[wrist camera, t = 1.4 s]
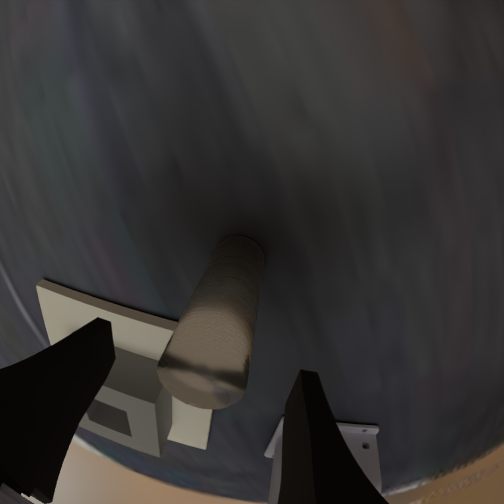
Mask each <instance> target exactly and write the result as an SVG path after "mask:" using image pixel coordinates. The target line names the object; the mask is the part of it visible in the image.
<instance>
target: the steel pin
mask: <svg viewBox="0 0 504 504" xmlns="http://www.w3.org/2000/svg"><path fill="white" fill-rule="evenodd" d="M264 262H265V259H264V254H263V251H262V249H261V248H260V246H259V245H258V244H257V243H256V242H255V241H253V240H252V239H250V238H247V237H244V236H232V237H229V238H227V239H225V240H223V241H222V242H221V243H220V244H219V245H218V247H217V248H216V250H215V252H214V254H213V256H212V258H211V260H210V261H209V263H208V265H207V267H206V269H205V271H204V273H203V275H202V277H201V279H200V281H199V282H198V284H197V286H196V288H195V290H194V292H193V294H192V296H191V298H190V300H189V302H188V304H187V306H186V308H185V310H184V312H183V314H182V316H181V318H180V319H179V321H178V323H177V325H176V327H175V329H174V331H173V333H172V335H171V337H170V339H169V341H168V343H167V345H166V347H165V349H164V351H163V353H162V355H161V357H160V359H159V362H158V365H157V373H158V377H159V379H160V382H161V383H162V385H163V386H164V388H165V389H166V390H167V391H168V392H169V393H170V394H171V395H172V396H174V397H175V398H177V399H178V400H180V401H182V402H184V403H186V404H188V405H191V406H194V407H197V408H202V409H222V408H226V407H229V406H232V405H234V404H235V403H237V402H238V401H239V400H240V399H241V398H242V397H243V396H244V394H245V392H246V387H247V381H248V374H249V368H250V361H251V354H252V347H253V340H254V333H255V326H256V319H257V312H258V305H259V298H260V291H261V284H262V277H263V270H264Z"/></svg>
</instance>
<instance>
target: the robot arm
mask: <svg viewBox="0 0 504 504" xmlns="http://www.w3.org/2000/svg"><path fill="white" fill-rule="evenodd" d="M115 359H116V355H115V349H114V341H113V334H112V325H111V321H108V320H105V319H102V318H99V317H97V318H95V319H94V320H92V321H90V322H89V323H87V324H86V325H84V326H82V327H81V328H79V329H78V330H76V331H74V332H73V333H71V334H70V335H68V336H66V337H65V338H63V339H62V340H60V341H58V342H57V343H55V344H53V345H51V346H50V347H48V348H46V349H44V350H42V351H40V352H39V353H37V354H35V355H33V356H31V357H29V358H27V359H25V360H22V361H20V362H18V363H15V364H13V365H11V366H8V367H5V368H2V369H0V504H34V503H32V502H31V501H29V500H27V499H26V498H24V497H23V496H21V493H23V494H25V495H27V496H28V497H30V496H32V497H34V498H36V499H37V500H39V501H41V502H42V503H44V504H47V503H51V502H52V500H53V496H54V492H55V488H56V484H57V480H58V477H59V473H60V470H61V467H62V464H63V461H64V458H65V456H66V453H67V450H68V448H69V445H70V443H71V441H72V438H73V436H74V434H75V431H76V429H77V427H78V425H79V423H80V421H81V419H82V418H83V416H84V415H85V413H86V411H87V410H88V408H89V406H90V405H91V403H92V402H93V400H94V398H95V397H96V395H97V394H98V392H99V390H100V389H101V387H102V386H103V384H104V382H105V381H106V379H107V377H108V375H109V373H110V370H111V368H112V366H113V364H114V361H115ZM378 432H379V427H378V426H373V425H359V424H347V423H337V422H336V421H335V418H334V416H333V414H332V411H331V409H330V407H329V404H328V401H327V399H326V396H325V393H324V390H323V387H322V384H321V381H320V378H319V375H318V373H317V372H312V371H306V370H300V372H299V374H298V376H297V379H296V381H295V383H294V386H293V388H292V390H291V393H290V395H289V397H288V399H287V402H286V407H285V414H284V417H282V418H281V420H280V422H279V424H278V426H277V428H276V430H275V433H274V435H273V437H272V439H271V441H270V443H269V445H268V447H267V449H266V451H265V456H266V457H269V458H273V467H272V475H271V483H270V491H269V499H268V504H389V503H388V502H387V501H386V500H385V499H384V498H383V497H382V496H381V473H380V464H379V455H378V447H377V440H376V434H377V433H378Z"/></svg>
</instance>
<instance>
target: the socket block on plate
mask: <svg viewBox="0 0 504 504" xmlns="http://www.w3.org/2000/svg"><path fill="white" fill-rule="evenodd" d="M36 287H37V292H38V297H39V301H40V306H41V310H42V314H43V318H44V322H45V326H46V329H47V333H48V337H49V340H50V344H51V345H53V344H55V343H57V342H58V341H60V340H62V339H63V338H65V337H66V336H68V335H70V334H71V333H73V332H74V331H76V330H78V329H79V328H81V327H82V326H84V325H86V324H87V323H89V322H90V321H92V320H94V319H95V318H97V317H99V318H102V319H105V320H108V321H111V325H112V334H113V341H114V349H115V355H116V359H115V361H114V364H113V366H112V368H111V370H110V373H109V375H108V377H107V379H106V381H105V382H104V384H103V386H102V387H101V389H100V390H99V392H98V394H97V395H96V397H95V398H94V400H93V402H92V403H91V405H90V406H89V408H88V410H87V411H86V413H85V415H84V416H83V418H82V419H81V421H80V423H79V425H78V426H80V427H82V428H85V429H87V430H89V431H91V432H94V433H96V434H98V435H100V436H103V437H105V438H108V439H110V440H112V441H115V442H117V443H120V444H123V445H125V446H128V447H131V448H133V449H136V450H139V451H142V452H145V453H147V454H150V455H153V456H157V457H161V454H162V452H163V449H164V446H165V443H166V441H167V439H169V440H172V441H175V442H179V443H182V444H186V445H189V446H193V447H197V448H201V449H205V450H206V447H207V443H208V437H209V431H210V425H211V419H212V413H213V409H202V408H197V407H194V406H191V405H188V404H186V403H184V402H182V401H180V400H178V399H177V398H175V397H174V396H172V395H171V394H170V393H169V392H168V391H167V390H166V389H165V388H164V386H163V385H162V383H161V382H160V379H159V377H158V373H157V365H158V362H159V359H160V357H161V355H162V353H163V351H164V349H165V347H166V345H167V343H168V341H169V339H170V337H171V335H172V333H173V331H174V329H175V327H176V325H177V323H178V322H175V321H171V320H167V319H164V318H160V317H157V316H153V315H150V314H146V313H143V312H139V311H136V310H133V309H129V308H126V307H123V306H120V305H116V304H113V303H110V302H107V301H104V300H101V299H98V298H95V297H92V296H89V295H86V294H83V293H80V292H77V291H74V290H71V289H68V288H66V287H63V286H60V285H57V284H54V283H52V282H49V281H46V280H44V279H43V280H41V281H40V282H39V283H38V284H37V285H36Z"/></svg>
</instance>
